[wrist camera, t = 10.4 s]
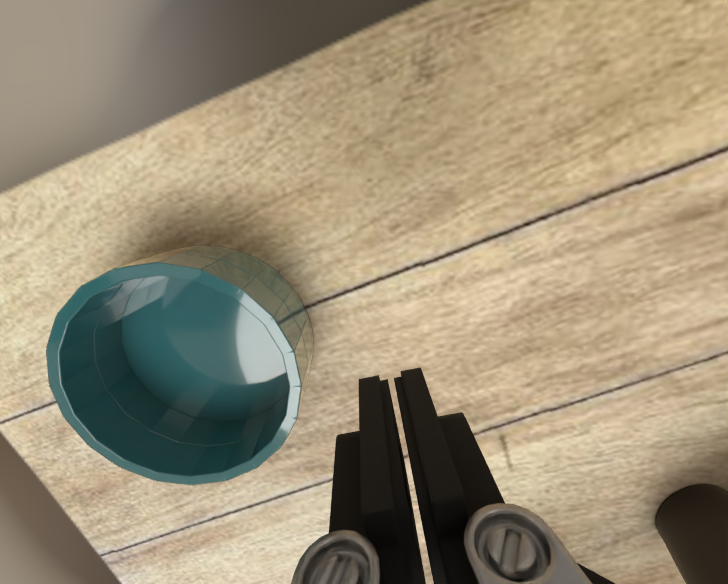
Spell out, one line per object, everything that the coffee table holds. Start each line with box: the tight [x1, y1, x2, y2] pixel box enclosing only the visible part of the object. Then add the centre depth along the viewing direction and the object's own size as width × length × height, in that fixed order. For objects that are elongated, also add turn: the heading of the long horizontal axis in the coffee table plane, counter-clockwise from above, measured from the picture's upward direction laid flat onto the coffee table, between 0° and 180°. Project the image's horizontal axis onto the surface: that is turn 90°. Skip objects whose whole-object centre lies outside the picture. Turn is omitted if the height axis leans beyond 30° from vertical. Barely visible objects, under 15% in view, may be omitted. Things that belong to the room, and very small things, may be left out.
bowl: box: [46, 245, 313, 485], centre depth 19 cm, size 12×12×5 cm
